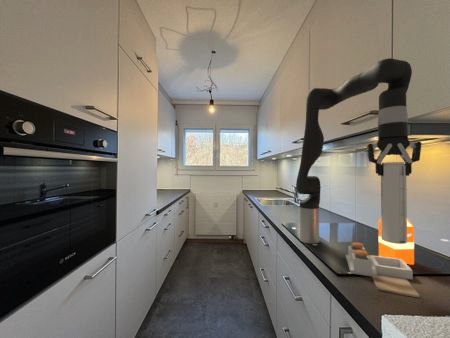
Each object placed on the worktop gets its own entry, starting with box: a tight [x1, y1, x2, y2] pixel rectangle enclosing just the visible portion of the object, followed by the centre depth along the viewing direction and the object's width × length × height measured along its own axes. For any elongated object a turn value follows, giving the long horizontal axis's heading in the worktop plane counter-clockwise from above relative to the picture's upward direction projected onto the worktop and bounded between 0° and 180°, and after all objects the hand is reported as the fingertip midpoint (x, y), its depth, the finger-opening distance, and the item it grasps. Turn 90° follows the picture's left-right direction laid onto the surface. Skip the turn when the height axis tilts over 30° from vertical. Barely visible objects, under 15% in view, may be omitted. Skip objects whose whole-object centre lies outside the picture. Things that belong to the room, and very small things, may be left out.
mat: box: [370, 274, 420, 298], centre depth 70 cm, size 10×10×1 cm
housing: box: [345, 245, 414, 281], centre depth 82 cm, size 15×18×5 cm
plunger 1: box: [350, 241, 364, 250], centre depth 88 cm, size 4×4×5 cm
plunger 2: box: [354, 250, 369, 260], centre depth 80 cm, size 4×4×5 cm
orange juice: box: [378, 217, 415, 265], centre depth 89 cm, size 8×9×20 cm
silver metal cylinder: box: [380, 161, 408, 244], centre depth 70 cm, size 6×6×25 cm
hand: (393, 175), depth 70 cm, fingers closed on silver metal cylinder, 6 cm apart
